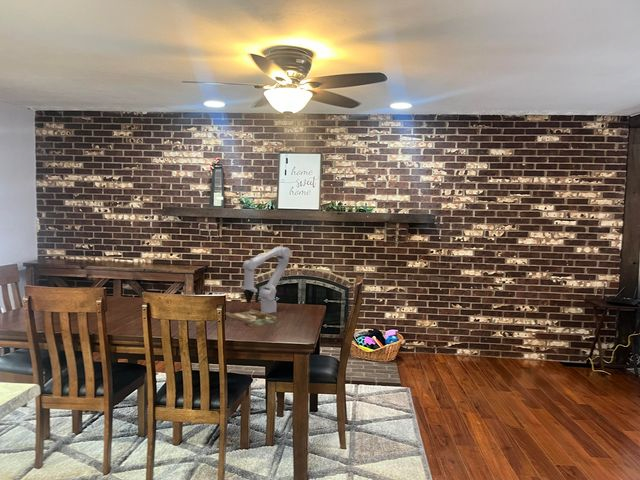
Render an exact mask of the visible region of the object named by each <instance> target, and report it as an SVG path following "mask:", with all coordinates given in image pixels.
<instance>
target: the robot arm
mask: <svg viewBox="0 0 640 480" xmlns="http://www.w3.org/2000/svg"><path fill="white" fill-rule="evenodd" d="M290 256H292V254H291V249H290V248H289V247H286V246H285V247H284V246H281V245H279V246H278V245H277V246H276V247H273V249H271V250H269V251H267V252H266V253H264V254H256V256H255V257H251V258H250V259H246V260H245V261H244V262H243V264H242V268H243V269H244V278H243V279H244V281H243V282H244V285H241V286H240V290H243V292H242V293H243V294H244V297H245V300H246V303H248V304H249V303H251V302H252V299H253V297H254V294H255V293H258V296H259V298H260V312H262V313H266V314H271V313H277V301H276V299H275V297H276V294H277V289H276V287H277V285H278V283H279V281H280V279H282V278H281V277H282V276H283V274H284V272H285V271H286V269H287V266H288V265H289V260H290ZM273 257H276V259H277V261H278V263H277V266H276V268H275V269H274V271H273V273H272V275H271V277H270V278H269V281H268V282H267V284H265V285H263V287H262V288H261V289H260V290H259V292H258V289H257V288H256V287H255V270H256V268H257V267H259V266H261V265H264V264H265V261H267V260H269V259H271V258H273Z"/></svg>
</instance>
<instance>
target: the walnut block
mask: <svg viewBox="0 0 640 480" xmlns="http://www.w3.org/2000/svg"><path fill="white" fill-rule="evenodd" d="M266 314H267V313H266ZM266 314H264V313H258V314H256V313H255V316H256V320H260V319H266Z"/></svg>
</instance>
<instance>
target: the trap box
mask: <svg viewBox="0 0 640 480" xmlns="http://www.w3.org/2000/svg"><path fill="white" fill-rule="evenodd" d="M258 313H262V312H261V311H259V310H257V309H253V308H249V311H243V312H235V313H231V312H228V311H226V312H225V315H226V316H227V317H230V318H234V319H235V320H238V321H241V322H244V325H245V326H248V327H250V328H251V327H257V326H258V327H259V326H262V325H264V326H265V325H269V324H276V323H277V322H278V317H277V316H274V315H272V314H270V313H264V314H266V319H260V320H256V314H258ZM254 314H255V315H254Z"/></svg>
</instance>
